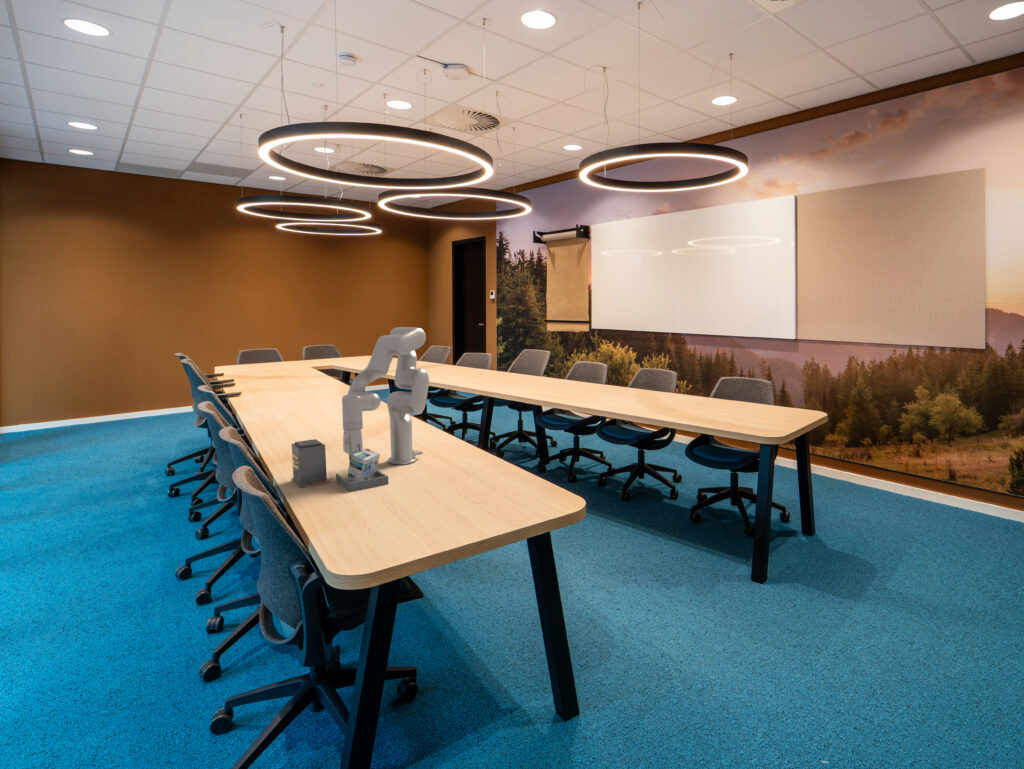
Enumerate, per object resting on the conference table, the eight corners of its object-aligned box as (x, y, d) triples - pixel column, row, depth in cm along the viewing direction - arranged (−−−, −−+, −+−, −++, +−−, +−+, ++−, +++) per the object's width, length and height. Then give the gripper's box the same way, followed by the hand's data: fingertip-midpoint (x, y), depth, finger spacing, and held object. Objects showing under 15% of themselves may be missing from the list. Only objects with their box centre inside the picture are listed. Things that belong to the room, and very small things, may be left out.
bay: (373, 474, 222) (373, 467, 221) (388, 483, 210) (388, 476, 209) (335, 481, 213) (335, 474, 212) (349, 491, 201) (348, 483, 200)
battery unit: (319, 475, 221) (317, 437, 219) (329, 482, 211) (327, 443, 209) (291, 480, 214) (289, 441, 212) (299, 488, 204) (297, 447, 202)
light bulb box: (359, 485, 207) (366, 460, 205) (345, 479, 209) (351, 454, 207) (375, 477, 218) (381, 453, 215) (361, 471, 219) (366, 447, 217)
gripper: (337, 423, 218) (338, 467, 220) (349, 429, 206) (351, 476, 208) (355, 421, 222) (356, 464, 224) (368, 427, 210) (370, 473, 212)
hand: (354, 470), depth 216 cm, fingers closed
